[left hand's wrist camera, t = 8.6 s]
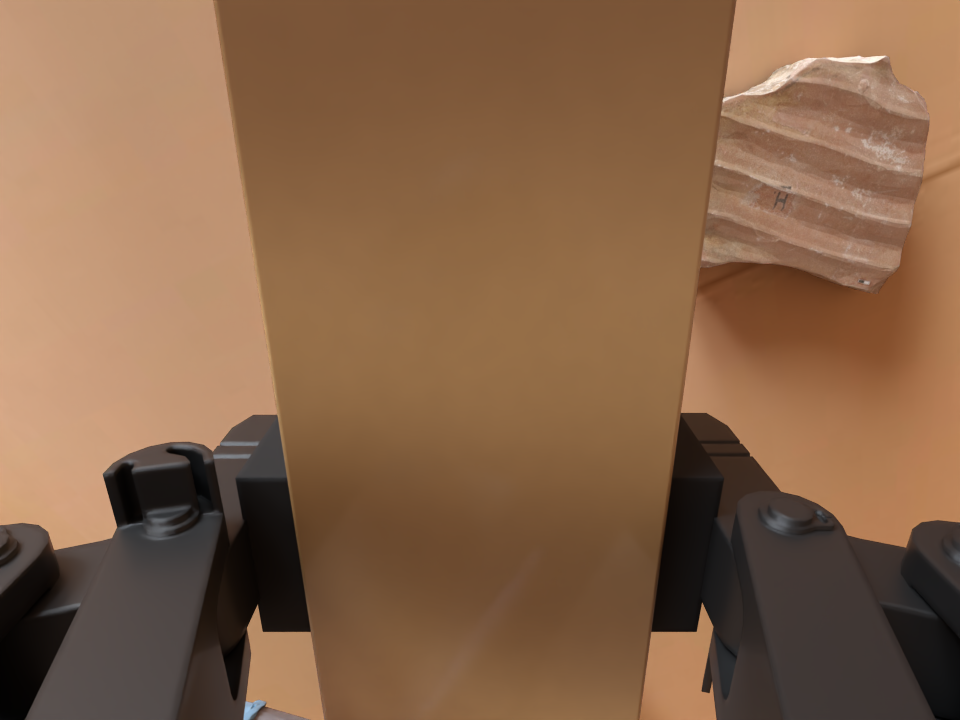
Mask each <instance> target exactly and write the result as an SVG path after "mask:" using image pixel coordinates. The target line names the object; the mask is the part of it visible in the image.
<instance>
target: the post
mask: <svg viewBox="0 0 960 720" xmlns="http://www.w3.org/2000/svg"><path fill="white" fill-rule="evenodd" d="M213 2H214V8H215V14H216V21H217V27H218V34H219V40H220V47H221V53H222V60H223V66H224V73H225V79H226V86H227V92H228V99H229V105H230V111H231V118H232V124H233V131H234V137H235V144H236V150H237V157H238V163H239V170H240V176H241V183H242V189H243V196H244V202H245V209H246V215H247V221H248V228H249V234H250V241H251V247H252V254H253V260H254V267H255V273H256V280H257V286H258V293H259V299H260V306H261V312H262V318H263V325H264V331H265V338H266V344H267V351H268V357H269V364H270V370H271V377H272V383H273V390H274V396H275V403H276V409H277V415H278V422H279V428H280V435H281V441H282V448H283V454H284V461H285V467H286V474H287V480H288V487H289V493H290V500H291V506H292V512H293V519H294V525H295V532H296V538H297V545H298V551H299V558H300V564H301V571H302V577H303V584H304V590H305V597H306V603H307V610H308V616H309V622H310V629H311V635H312V642H313V648H314V655H315V661H316V668H317V674H318V681H319V687H320V694H321V700H322V707H323V713H324V719H325V720H639V719H640V711H641V704H642V697H643V689H644V682H645V674H646V667H647V659H648V652H649V645H650V637H651V630H652V622H653V615H654V608H655V600H656V593H657V585H658V578H659V570H660V563H661V556H662V548H663V541H664V533H665V526H666V518H667V511H668V504H669V496H670V489H671V481H672V474H673V466H674V459H675V452H676V444H677V437H678V429H679V422H680V414H681V407H682V400H683V392H684V385H685V377H686V370H687V362H688V355H689V348H690V340H691V333H692V325H693V318H694V311H695V303H696V296H697V288H698V281H699V273H700V266H701V259H702V251H703V244H704V236H705V229H706V221H707V214H708V207H709V199H710V192H711V184H712V177H713V169H714V162H715V155H716V147H717V140H718V132H719V125H720V117H721V110H722V103H723V95H724V88H725V80H726V73H727V66H728V58H729V51H730V43H731V36H732V28H733V21H734V14H735V6H736V0H213Z"/></svg>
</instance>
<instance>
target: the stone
mask: <svg viewBox="0 0 960 720" xmlns="http://www.w3.org/2000/svg"><path fill="white" fill-rule="evenodd" d="M928 131H929V113H928V112H927V106H926V102H925V100H924V98H923V97H922V96H921V95H920V94H919V93H918V92H917V91H913V90H911V89H910V88H908V87H907V86H904V85H902V84H900V83H899V82H898V80H897V79H896V78H895V76H894V74H893V73H892V68H891V65H890V59H889V57H888V56H874V57H861V56H855V57H845V58H807V59H804V60H801V61H798V62H796V63H794V64H791V65H786V66H784V67H781V68H779V69H777V70H776V71H774V72H773V73H772V75H771V76H770V77H769V79H768V80H766V81H765V82H763V83H762V84H760V85H757V86H754V87H752V88H750V89H749V90H748V91H746V92H744V93H741V94H738V95H734V96H730V97H725V98H723V103H722V110H721V117H720V125H719V132H718V140H717V147H716V155H715V162H714V169H713V177H712V184H711V192H710V199H709V207H708V214H707V221H706V229H705V236H704V244H703V251H702V259H701V266H700V267H706V268H708V267H713V266H718V265H722V264H726V263H732V262H744V263H758V264H772V265H782V266H789V267H792V268H795V269H798V270H802V271H805V272H808V273H810V274H812V275H814V276H817V277H820V278H823V279H826V280H828V281H830V282H832V283H836V284H839V285H842V286H846V287H849V288H853V289H856V290H860V291H864V292H867V293H875V294H877V293H879V290H880V288H881V287H882V285H883V284H884V283H885V282H886V280H887V279H888V277H890V276H891V275H892V274H893V273H895V272H896V271H897V269H898V268H899V266H900V259H901V252H902V249H903V246H904V243H905V240H906V237H907V234H908V232H909V229H910V227H911V223H912V216H913V208H914V204H915V201H916V198H917V195H918V192H919V189H920V186H921V183H922V177H923V166H924V160H925V146H926V141H927V135H928Z"/></svg>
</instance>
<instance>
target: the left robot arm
mask: <svg viewBox="0 0 960 720" xmlns="http://www.w3.org/2000/svg"><path fill="white" fill-rule="evenodd" d="M103 477H104V481H105V484H106V488H107V491H108V495H109V499H110V502H111V506H112V509H113V513H114V517H115V520H116V524H117V529H116V531H115V533H114V535H113V538H111V539H107V540H103V541H99V542H94V543H89V544H84V545H79V546H74V547H69V548H64V549H59V550H54V549H53V546H52V543H51V540H50V537H49V534H48V532H47V531H46V530H45V529H43V528H42V527H40V526H39V525H33V524H25V523H19V524H10V525H0V720H309V719H306V718H302V717H299V716H296V715H292V714H289V713H285V712H282V711H278V710H275V709H271V708H268V707H265V705H266V702H265V701H261V700H257V701H255V702H253V703H251V702H247V701H246V693H247V685H248V676H249V668H250V659H251V650H250V643H249V638H248V633H247V626H248V624H249V622H250V620H251V618H252V615H253V613H254V611H255V609H256V607H257V605H258V607H259V613H260V618H261V624H262V629H263V632H311V629H310V622H309V616H308V610H307V603H306V597H305V590H304V584H303V577H302V571H301V564H300V558H299V551H298V545H297V538H296V532H295V525H294V519H293V512H292V506H291V500H290V493H289V487H288V480H287V474H286V467H285V461H284V454H283V448H282V441H281V435H280V428H279V422H278V415H253V416H251V417H249V418H248V419H246V420H244V421H243V422H241V423H240V424H238V425H236V426H235V427H233V428H232V429H231V430H230V431H229V433H228V434H227V435H226V436H225V438H224V439H223V440H222V441H221V443H220V446H217V448H216V449H215V450H214V451H213V452H212V451H211V450H210V449H209V448H207V447H206V446H204V445H201V444H197V443H192V442H170V443H165V444H160V445H155V446H150V447H147V448H144V449H141V450H139V451H136V452H133V453H130V454H128V455H127V456H125V457H123V458H121V459H120V460H118V461H116V462H115V463H113V464H112V465H111V466H110V467H109V468H108V469H107V470H106V471H105V472H104V473H103ZM702 603H703V605H704V607H705V609H706V611H707V613H708V616H709V618H710V620H711V622H712V624H713V626H714V627H713V633H712V638H711V643H710V648H709V653H708V658H707V663H706V669H705V674H704V679H703V685H702V692H707V693H710V688H711V683H713V692H714V701H715V709H716V718H717V720H960V523H959V522H948V521H939V520H937V521H929V522H922V523H920V524H919V525H917V526H916V527H915V528H913V529H912V532H911V535H910V538H909V541H908V544H907V547H906V548H905V547H900V546H895V545H889V544H884V543H879V542H874V541H869V540H864V539H859V538H855V537H851V536H847V534H846V532H845V530H844V528H843V526H842V525H841V524H840V523H839V521H838V520H837V519H836V518H835V516H834V515H833V514H832V513H830V512H829V511H827V510H826V509H824V508H823V507H821V506H820V505H818V504H816V503H814V502H812V501H809V500H807V499H805V498H802V497H800V496H797V495H792V494H788V493H784V492H781V491H780V490H779V489H778V487H777V486H776V485H775V484H774V483H773V481H772V480H771V479H770V478H769V476H768V475H767V474H766V473H765V471H764V470H763V469H762V468H761V466H760V465H759V464H758V463H757V462H756V460H755V459H754V458H753V457H750V453H749V452H748V450H747V449H746V448H745V447H744V446H743V444H740V441H739V439H738V438H737V437H736V436H735V434H734V433H733V432H732V431H731V430H730V428H729V427H728V426H727V425H725V424H724V423H722V422H720V421H719V420H717V419H715V418H714V417H712V416H710V415H709V414H707V413H681V414H680V422H679V429H678V437H677V444H676V452H675V459H674V466H673V474H672V481H671V489H670V496H669V504H668V511H667V518H666V526H665V533H664V541H663V548H662V556H661V563H660V570H659V578H658V585H657V593H656V600H655V608H654V615H653V622H652V630H651V632H697V627H698V621H699V616H700V610H701V605H702Z"/></svg>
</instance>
